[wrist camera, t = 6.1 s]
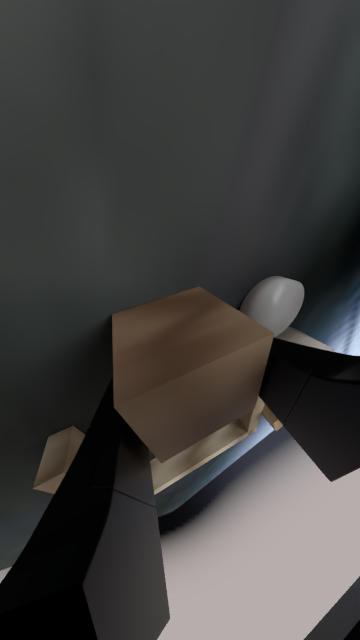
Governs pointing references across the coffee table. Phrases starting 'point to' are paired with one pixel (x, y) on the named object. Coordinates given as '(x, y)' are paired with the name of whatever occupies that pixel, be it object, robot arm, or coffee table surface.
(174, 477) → the bay
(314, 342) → the pale oval dome
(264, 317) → the grey pebble
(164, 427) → the walnut block
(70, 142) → the coffee table surface
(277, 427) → the oak cube
